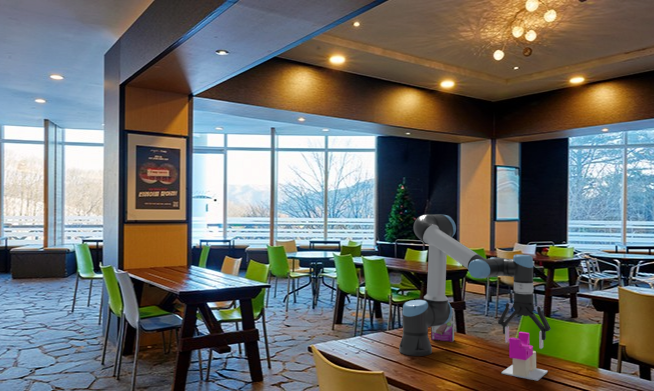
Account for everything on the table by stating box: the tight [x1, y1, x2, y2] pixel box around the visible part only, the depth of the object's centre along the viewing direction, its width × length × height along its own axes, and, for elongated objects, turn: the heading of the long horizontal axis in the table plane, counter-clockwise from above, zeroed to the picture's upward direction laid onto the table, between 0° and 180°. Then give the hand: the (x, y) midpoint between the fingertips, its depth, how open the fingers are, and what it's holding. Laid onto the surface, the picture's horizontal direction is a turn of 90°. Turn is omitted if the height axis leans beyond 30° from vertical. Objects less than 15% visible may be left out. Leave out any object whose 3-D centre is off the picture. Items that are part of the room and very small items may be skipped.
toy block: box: [508, 331, 534, 360], centre depth 201 cm, size 15×6×8 cm, turn 143°
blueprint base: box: [501, 350, 549, 381], centre depth 202 cm, size 14×14×8 cm
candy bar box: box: [430, 307, 455, 343], centre depth 256 cm, size 11×5×16 cm, turn 66°
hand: (523, 345), depth 202 cm, fingers open, 13 cm apart
